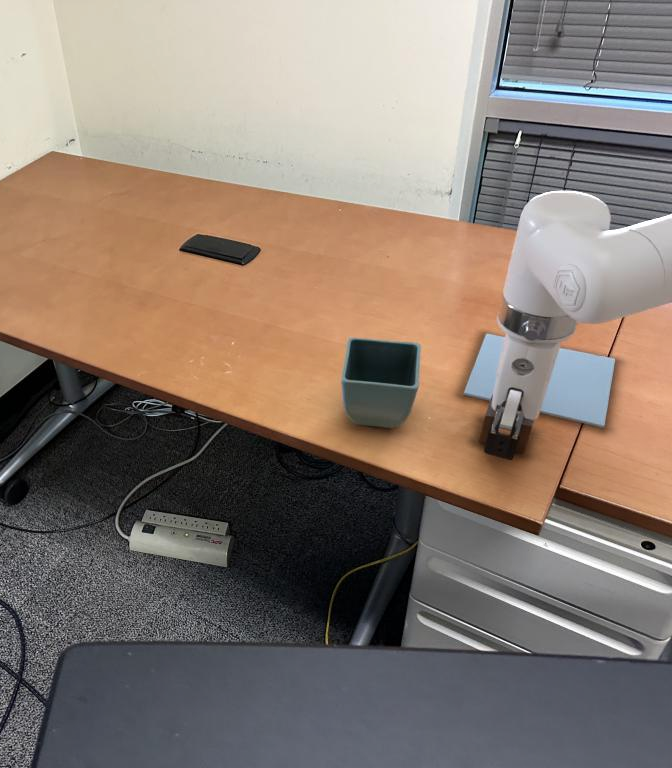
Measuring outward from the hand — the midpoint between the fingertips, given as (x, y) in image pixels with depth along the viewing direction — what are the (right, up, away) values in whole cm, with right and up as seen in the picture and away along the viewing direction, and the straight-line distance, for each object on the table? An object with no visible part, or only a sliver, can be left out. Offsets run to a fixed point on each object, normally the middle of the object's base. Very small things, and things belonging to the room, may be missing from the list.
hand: (505, 430), depth 83 cm
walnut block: (0, -1, +1) cm, 1 cm away
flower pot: (-14, +1, +6) cm, 15 cm away
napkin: (+8, +6, +8) cm, 13 cm away
